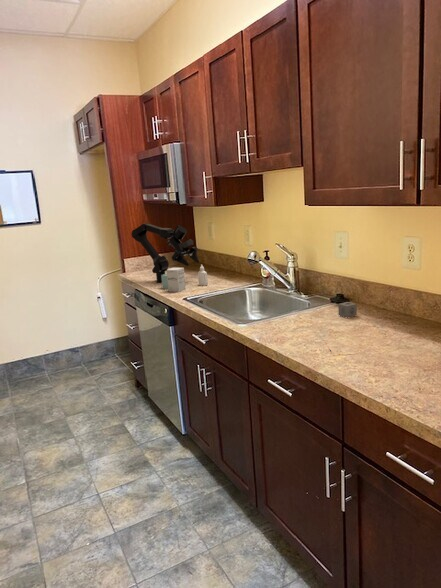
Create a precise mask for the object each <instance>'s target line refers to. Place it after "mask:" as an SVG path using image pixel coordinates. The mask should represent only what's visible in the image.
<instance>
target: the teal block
mask: <svg viewBox="0 0 441 588" xmlns="http://www.w3.org/2000/svg"><path fill="white" fill-rule="evenodd" d="M161 278H162V282H161V287H162V289H163V290H168V280H167V273H165V274H164V275H161Z"/></svg>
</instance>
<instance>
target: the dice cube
mask: <svg viewBox="0 0 441 588" xmlns="http://www.w3.org/2000/svg"><path fill="white" fill-rule="evenodd" d="M357 306H358V305H357V303H354V302H350V301H345V302H341V303H338V307H337V308H338V316H339V315H340V316H339V317H341V316H344V317H343V318H345V317H347V318H346V319H349V318H348V317H350V318H352V316H354V317H356V316H355V315H357V316H358V314H357V310H358V309H357Z"/></svg>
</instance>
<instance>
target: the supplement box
mask: <svg viewBox="0 0 441 588" xmlns="http://www.w3.org/2000/svg"><path fill="white" fill-rule="evenodd" d="M166 274H167V280H168V289H167V290H168V292H174V293H177V292H178V293H180V292H182V291H186V289H187V287H186V277H185V276H186V275H185V267H170V268H168V269H167V271H166Z"/></svg>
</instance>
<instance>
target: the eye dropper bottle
mask: <svg viewBox="0 0 441 588" xmlns="http://www.w3.org/2000/svg"><path fill="white" fill-rule="evenodd" d="M197 279H198V285H199V286H203V287H204V286H205V287H206V286H208V284H209V283H208V273H207V271H205V267H204V266H203V264H200V267H199V271H198V272H197Z"/></svg>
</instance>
